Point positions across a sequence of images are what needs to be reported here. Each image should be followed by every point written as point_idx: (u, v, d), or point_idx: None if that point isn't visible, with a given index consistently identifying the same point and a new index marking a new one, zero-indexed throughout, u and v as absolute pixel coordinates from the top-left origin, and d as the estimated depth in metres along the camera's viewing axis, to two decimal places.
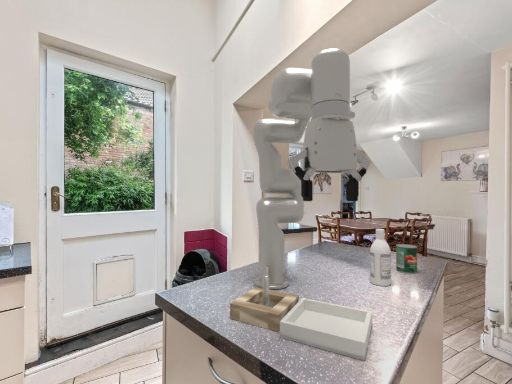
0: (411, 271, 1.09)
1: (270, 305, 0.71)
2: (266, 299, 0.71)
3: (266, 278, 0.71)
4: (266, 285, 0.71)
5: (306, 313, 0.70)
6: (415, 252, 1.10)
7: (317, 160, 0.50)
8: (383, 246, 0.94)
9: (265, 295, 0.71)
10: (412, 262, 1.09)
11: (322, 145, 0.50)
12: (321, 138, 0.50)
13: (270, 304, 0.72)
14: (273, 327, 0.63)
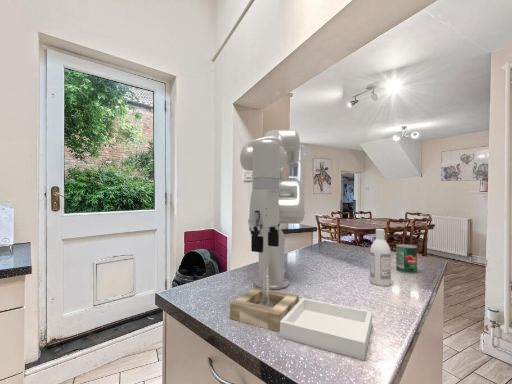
0: (411, 271, 1.09)
1: (270, 305, 0.71)
2: (266, 299, 0.71)
3: (266, 278, 0.71)
4: (266, 285, 0.71)
5: (306, 313, 0.70)
6: (415, 252, 1.10)
7: (266, 221, 0.67)
8: (383, 246, 0.94)
9: (265, 295, 0.71)
10: (412, 262, 1.09)
11: (269, 210, 0.68)
12: (268, 205, 0.68)
13: (270, 304, 0.72)
14: (273, 327, 0.63)
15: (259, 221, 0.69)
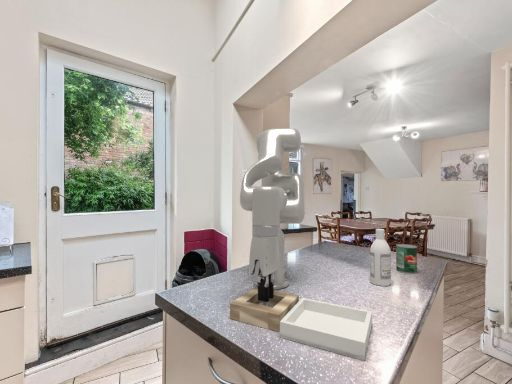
0: (411, 271, 1.09)
1: (270, 305, 0.71)
2: None
3: None
4: None
5: (306, 313, 0.70)
6: (415, 252, 1.10)
7: (266, 270, 0.67)
8: (383, 246, 0.94)
9: None
10: (412, 262, 1.09)
11: (269, 258, 0.68)
12: (268, 253, 0.68)
13: (270, 304, 0.72)
14: (273, 327, 0.63)
15: None
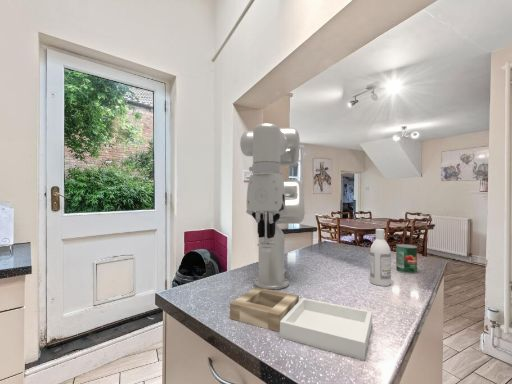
0: (411, 271, 1.09)
1: None
2: None
3: None
4: None
5: (306, 313, 0.70)
6: (415, 252, 1.10)
7: None
8: (383, 246, 0.94)
9: None
10: (412, 262, 1.09)
11: None
12: None
13: None
14: (273, 327, 0.63)
15: None
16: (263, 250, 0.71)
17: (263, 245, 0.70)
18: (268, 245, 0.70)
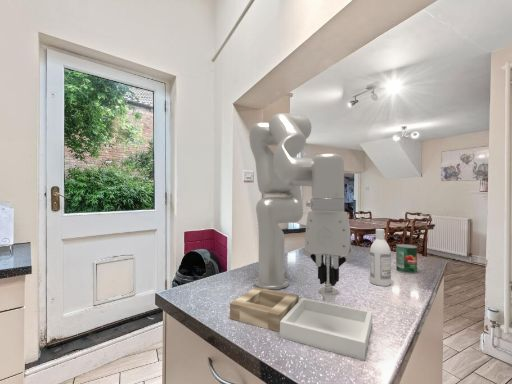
0: (411, 271, 1.09)
1: None
2: None
3: None
4: None
5: (306, 313, 0.70)
6: (415, 252, 1.10)
7: None
8: (383, 246, 0.94)
9: None
10: (412, 262, 1.09)
11: None
12: None
13: (325, 288, 0.64)
14: (273, 327, 0.63)
15: None
16: (326, 299, 0.61)
17: (327, 294, 0.60)
18: (333, 294, 0.60)
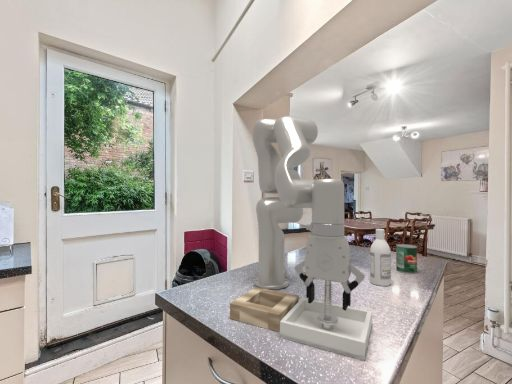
0: (411, 271, 1.09)
1: None
2: None
3: None
4: None
5: (306, 313, 0.70)
6: (415, 252, 1.10)
7: None
8: (383, 246, 0.94)
9: None
10: (412, 262, 1.09)
11: None
12: None
13: (324, 314, 0.64)
14: (273, 327, 0.63)
15: None
16: (325, 326, 0.62)
17: (326, 321, 0.61)
18: (332, 322, 0.61)
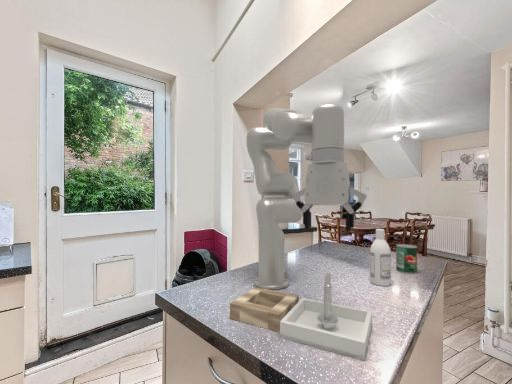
0: (411, 271, 1.09)
1: None
2: None
3: None
4: None
5: (306, 313, 0.70)
6: (415, 252, 1.10)
7: None
8: (383, 246, 0.94)
9: (330, 305, 0.63)
10: (412, 262, 1.09)
11: None
12: None
13: (324, 314, 0.64)
14: (273, 327, 0.63)
15: None
16: (325, 326, 0.62)
17: (326, 322, 0.61)
18: (332, 322, 0.61)
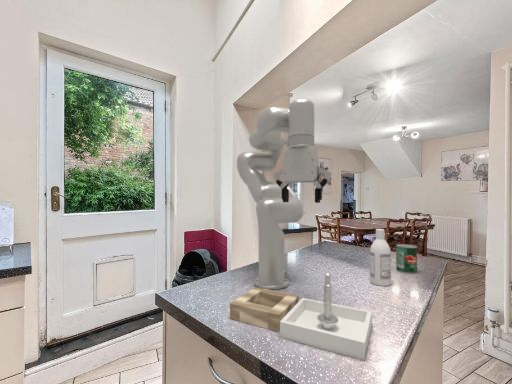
0: (411, 271, 1.09)
1: None
2: None
3: None
4: None
5: (306, 313, 0.70)
6: (415, 252, 1.10)
7: None
8: (383, 246, 0.94)
9: (330, 305, 0.63)
10: (412, 262, 1.09)
11: None
12: None
13: (324, 314, 0.64)
14: (273, 327, 0.63)
15: None
16: (325, 326, 0.62)
17: (326, 322, 0.61)
18: (332, 322, 0.61)
